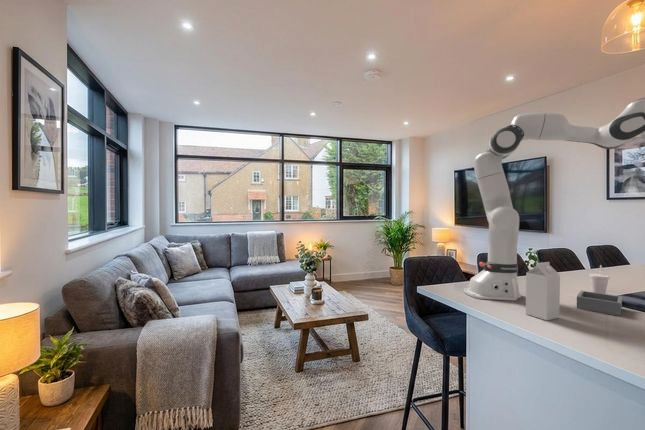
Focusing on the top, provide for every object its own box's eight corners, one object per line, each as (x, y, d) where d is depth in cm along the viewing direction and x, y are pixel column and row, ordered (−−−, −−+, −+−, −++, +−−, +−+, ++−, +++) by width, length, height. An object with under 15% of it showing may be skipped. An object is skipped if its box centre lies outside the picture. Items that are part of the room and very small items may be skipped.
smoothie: (613, 300, 125) (613, 266, 125) (595, 299, 127) (595, 266, 126) (602, 296, 132) (602, 264, 131) (585, 295, 133) (585, 263, 133)
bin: (620, 316, 108) (620, 303, 108) (576, 308, 116) (576, 296, 116) (621, 308, 116) (622, 296, 116) (580, 301, 125) (580, 290, 124)
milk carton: (525, 314, 109) (526, 261, 109) (538, 311, 112) (538, 260, 112) (546, 321, 103) (547, 265, 102) (559, 318, 106) (560, 263, 105)
